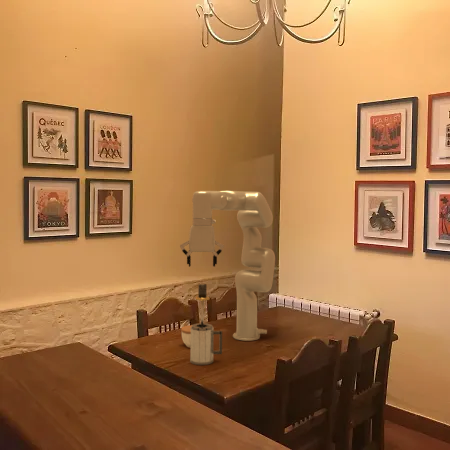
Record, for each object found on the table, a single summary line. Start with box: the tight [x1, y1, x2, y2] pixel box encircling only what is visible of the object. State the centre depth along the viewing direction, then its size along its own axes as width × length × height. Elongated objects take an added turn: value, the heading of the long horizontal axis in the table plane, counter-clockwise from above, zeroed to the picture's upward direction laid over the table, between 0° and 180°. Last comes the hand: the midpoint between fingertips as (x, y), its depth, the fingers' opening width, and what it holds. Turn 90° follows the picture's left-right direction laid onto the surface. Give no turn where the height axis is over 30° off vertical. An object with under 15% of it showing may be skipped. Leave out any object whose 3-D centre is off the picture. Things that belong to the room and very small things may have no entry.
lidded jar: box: [180, 324, 193, 349], centre depth 220 cm, size 11×11×9 cm
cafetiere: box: [189, 322, 223, 366], centre depth 199 cm, size 13×9×14 cm
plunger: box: [195, 283, 210, 327], centre depth 198 cm, size 6×6×20 cm
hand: (201, 266), depth 197 cm, fingers open, 9 cm apart
